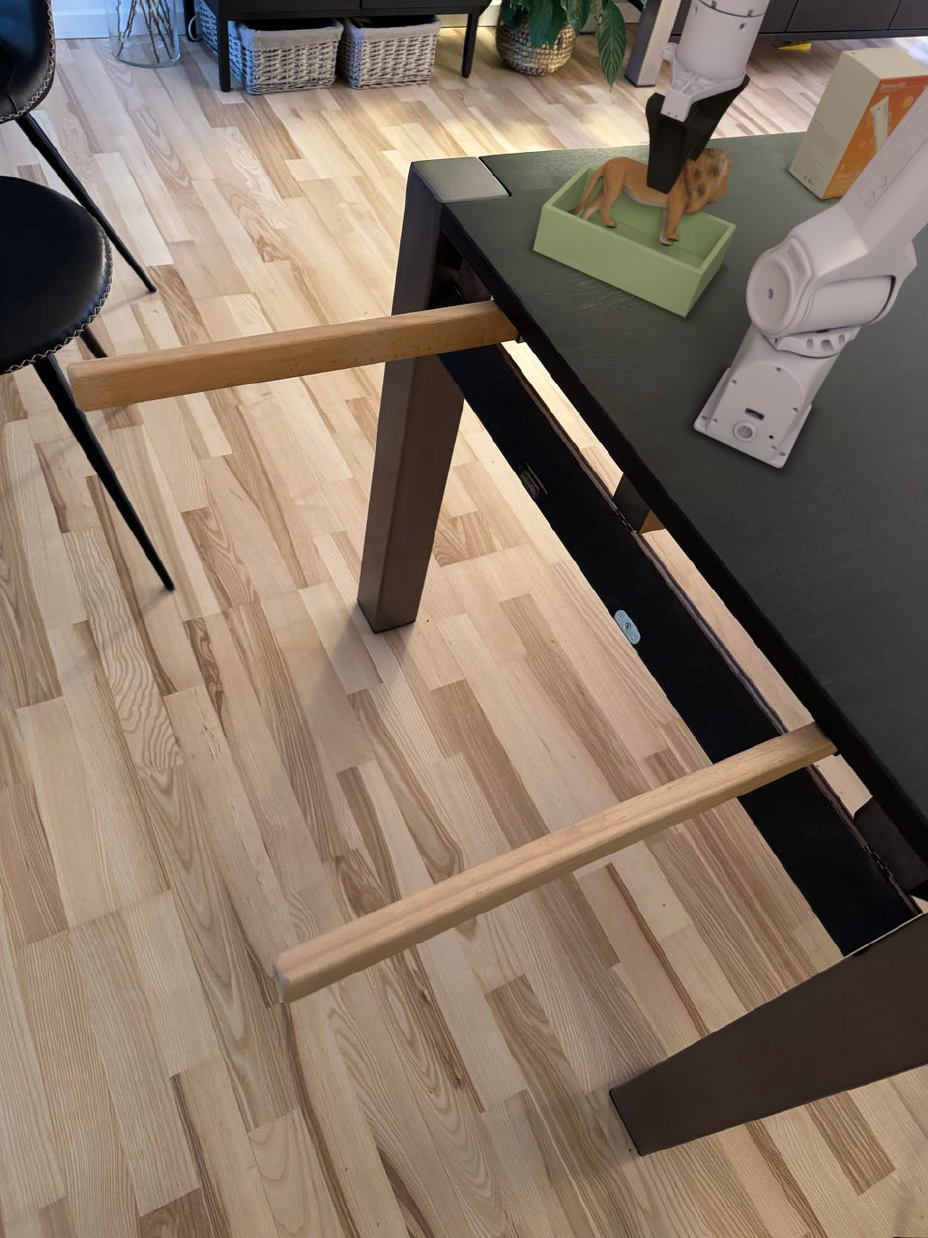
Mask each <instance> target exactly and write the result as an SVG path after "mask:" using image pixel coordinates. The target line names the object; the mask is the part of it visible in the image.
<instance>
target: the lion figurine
mask: <svg viewBox="0 0 928 1238" xmlns="http://www.w3.org/2000/svg"><path fill="white" fill-rule="evenodd" d="M732 164H733V160H731V159H730V158H729V155H728V154H727V153H726V152H725V150H723V149H719V148H716V147H715V148H714V147H708V148H707V147H705V149H704V150H703V152H702V153H701V155H700V156H699V158H698V159H697V160H696V161H695V160H692V159H690V158H688V160H687V162H686V164H685V166H684V168H683V170H682V172H681V174H680V176H679V178H678V180H677V181H676V183H675V185H674V186H673V188H672V189H671V190H670V192H669V193H668V194H664V193H661V192H659V191H657V190H654V189H652V188H649V187H647V169H648V163H643V162H641V161H638V160H635V159H632V158H630V157H628V156H618V157H617V156H616V157H613V158H610V159H608V160H607V161H605V162H604V163H603V164H602V165H601V166H600V167H598V168H599V169H598V170H597V171H596V173H595V174H594V176H593V177H592V179H591V181H590V183H589V185H588V187H587V189H586V191H585V193H584V195H583V197H582V199H581V201H580V203H579V204H578V206H577V207H576V208H574V209H571V210H569V211H566V212H567V213H570V214H572V215H574V216H575V215H576V214H578V212H579V211H580V210H581V209H582V207H583V206H584V205H585V203H586V201H587V200H588V198H589V196H590V194H591V192H592V191H593V189H594V187H595V186H596V184H597V182H598V181H599V179H600V178H603V184H602V187H601V190H600V192H599V193H598V194H597V196H596V197H595V198H594V199H593V200H592V201H591V202H589V203H588V204H587V205H586V206H585V209H584V211H583V214H582V216H581V219H584V220H586V221H588V222H589V218H590V216H591V215H593V214H594V213H596V212H598V211H599V212H600V215H601V218H602V221H603V224H604V226H605V227H607V228H617V223H616V221H613V220H611V219H610V209H611V207H612V205H613V203H614V202H615V201H616V200H617V199H618V198H619V197H620V196H621V195H622V194H623V193H625V194H626V195H627V196H628V197H629V198H630V199H631V200H633V201H634V202H636V203H637V204H639V205H641V206H644V207H651V208H662V212H663V223H662V228H661V231H660V233H659V242H660V244H662V245H664V246H672V245H673V241H674V242H678V241H680V236H679V235H677V234H676V228H677V225H678V223H679V221H680V219H681V217H682V214H684V215H694V214H697V213H698V212H699V211H702V209H703V208H704V207H706V206H710V205H713V204H715V203H717V202H718V201H720V200H721V199H722V197H723V196H724V195H725V193H726V191H727V190H728V186H729V181H730V175H731V168H732Z"/></svg>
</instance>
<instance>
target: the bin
mask: <svg viewBox="0 0 928 1238" xmlns="http://www.w3.org/2000/svg"><path fill="white" fill-rule="evenodd" d="M599 168H600V167H598V166H594V165H593V164H590V163H588V162H586V163H585V164H584V165H583V166H581V168H580V169H579V170H578V171H577V172H576V173H574V174H573V176H571V177H570V178H569V180H568V181H566V182H565V183H564V184H563V185H562V186H561V187H560V188H559V189H558V190H557V191H556V192H554V194H553V195H552V196H551V197H549V199H548V200H547V201H546V202H545V203H544V204H543V205H542V208H541V213H540V217H539V222H538V225H537V231H536V235H535V240H534V244H533V247H532V251H534V252H536V253H539V254H540V255H543V256H546V257H547V258H550V259H551V260H554V261H556V262H559V263H561V264H563V265H565V266H568V267H570V268H572V269H575V270H577V271H579V272H581V273H584V274H586V275H587V276H590V277H593V278H594V279H597V280H599V281H601V282H604V283H606V284H609V285H611V286H613V287H615V288H618V289H620V290H622V291H624V292H627V293H628V294H631V295H633V296H635V297H638V298H640V299H643V300H645V301H647V302H649V303H651V304H653V305H656V306H658V307H660V308H663V309H665V310H667V311H669V312H672V313H674V314H676V315H678V316H680V317H682V318H686V317H687V315H688V314H689V312H691V310H692V308H693V307H694V305H695V304H696V302H697V301H698V300H699V298H700V297H701V295H702V294H703V293H704V291H705V290H706V288H707V286H708V285H709V284H710V283H711V281H712V279H713V278H714V277H715V275H716V274H717V272H718V271H719V269H720V268H721V266H722V263H723V260H724V259H725V255H726V253H727V251H728V249H729V246H730V244H731V242H732V239H733V237H734V234H735V232H736V229H737V224H734V223H732V222H729V221H727V220H725V219H721V218H719V217H717V216H714V215H712V214H710V213H707V212H705V211H702V210H700V211H699V212H698V213H697V214H694V215H684V214H682V217H681V219H680V221H679V223H678V225H677V228H676V234H677V235H679V236H680V241H678V242H674V241H673V245H672V246H664V245H662V244H660V242H659V233H660V231H661V228H662V223H663V212H662V208H651V207H644V206H641V205H639V204H637V203H636V202H634V201H633V200H631V199H630V198H629V197H628V196H627V195H626V194H625V193H623V194H622V195H621V196H620V197H619V198H618V199H617V200H616V201H615V202H614V203H613V205H612V207H611V209H610V219H611V220H613V221H616V223H617V228H607V227H605V226H604V224H603V221H602V218H601V215H600V212H599V211H598V212H596V213H594V214H593V215H591V216H590V218H589V222H588V221H586V220H584V219H581V216H582V214H583V211H584V209H585V206H586V205H587V204H588V203H589V202H591V201H592V200H593V199H594V198H595V197H596V196H597V194H598V193H599V192H600V190H601V187H602V184H603V178H600V179H599V181H598V182H597V184H596V186H595V187H594V189H593V191H592V192H591V194H590V196H589V198H588V200H587V201H586V203H585V205H584V206H583V207H582V209H581V210H580V211H579V212H578V214H576V215H575V216H574V215H572V214H570V213H567V212H566V211H569V210H571V209H574V208H576V207H577V206H578V204H579V203H580V201H581V199H582V197H583V195H584V193H585V191H586V189H587V187H588V185H589V183H590V181H591V179H592V177H593V176H594V174H595V173H596V171H597V170H598V169H599Z"/></svg>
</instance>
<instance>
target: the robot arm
mask: <svg viewBox="0 0 928 1238" xmlns="http://www.w3.org/2000/svg"><path fill="white" fill-rule="evenodd" d="M770 1H771V0H691V3H690V7H689V10H688V13H687V16H686V19H685V23H684V26H683V29H682V32H681V36H680V39H679V41H678V43H676V42H668V43H666V44H665V45H664V46H663V47H662V49H661V52H660V58H661V59H662V60H665V61H667V62H669V63H670V79H669V87H668V88H667V91H666V94H665V95H664V94H662V93H659V92H657V91H655V92H653V94H651V95H650V97H648V98H647V100H646V104H645V109H644V114H645V119H646V122H647V127H648V138H649V139H648V143H649V144H648V145H649V147H648V148H649V149H648V160H647V164H648V169H647V187H649V188H652V189H654V190H657V191H659V192H661V193H664V194H668V193H669V192H670V190H671V189H672V188H673V186H674V185H675V183H676V181H677V180H678V178H679V176H680V174H681V172H682V170H683V168H684V166H685V164H686V162H687V160H688V158H690V159H692V160H695V161H696V160H697V159H698V158H699V156H700V155H701V153H702V152H703V150H704V149H705V148H707V146H708V143H709V142H710V140H711V138H712V136H713V134H714V133H715V131H716V129H717V127H718V125H719V124H720V122H721V120H722V119H723V117H724V116H725V114H726V113H727V111H728V109H729V108H730V106H731V105H732V104H733V102H734V101H735V100H736V99H737V97H738V96H739V95H740V94H741V93H742V92H744V91H745V89H746V88H747V87H748V86H749V84H750V81H751V77H750V75H748V74H747V70H746V66H747V63H748V61H749V58H750V55H751V52H752V50H753V47H754V44H755V41H756V38H757V36H758V33H759V31H760V29H761V25H762V22H763V20H764V17H765V14H766V12H767V9H768V6H769V3H770ZM927 224H928V86H927V87H926V88H925V90H924V91H923V92H922V94H921V95H920V96H919V98H918V99H917V100H916V101H915V103H914V104H913V105H912V107H911V108H910V109H909V111H908V112H907V113H906V115H905V116H904V117H903V118H902V120H901V121H900V122H899V124H898V125H897V126H896V128H895V129H894V130H893V132H892V133H891V134H890V136H889V137H888V138H887V139H886V141H885V142H884V143H883V145H882V146H881V147H880V149H879V150H878V151H877V153H876V154H875V155H874V156H873V158H872V159H871V160H870V162H869V163H868V164H867V166H866V167H865V168H864V170H863V171H862V172H861V173H860V175H859V176H858V177H857V179H856V180H855V181H854V183H853V184H852V185H851V187H850V188H849V189H848V190H847V192H846V193H845V194H844V196H841V198H840V200H839V201H838V202H837V203H835V204H833V205H832V206H831V207H828V208H827V209H825V210H823V211H822V212H818V213H817V214H815V215H814V216H812V217H810V218H808V219H806V220H805V221H803V222H801V223H799V224H797V225H795V226H794V227H793V228H791V230H790V231H789V233H788V234H787V235H786V237H784V239H783V240H782V241H781V242H780V243H779V244H777V245H776V246H774V247H772V248H771V247H770V248H769V249H767V250H765V251H764V252H762V253H761V254H760V256H759V257H758V258H757V259H756V261H755V262H754V264H753V266H752V267H751V271H750V273H749V276H748V280H747V283H746V290H745V302H746V308H747V313H748V317H749V319H750V320H751V323H750V325H749V327H748V328H747V329H748V330H747V331H746V334H745V336H744V337H743V339H742V342H741V344H740V346H739V348H738V350H737V353H736V355H735V357H734V359H733V361H732V363H731V365H730V367H728V368H726V369H725V372H724V373H723V375H722V377H721V378H720V380H719V381H718V383H717V385H716V387H714V390H713V391H712V393H711V394H710V396H709V398H708V399H707V401H706V403H705V405H704V406H703V408H702V409H701V411H700V413H699V415H698V417H697V418H696V419H695V421H694V423H693V428H694V430H695V431H697V432H699V433H701V434H703V435H706V436H708V437H709V438H712V439H715V440H716V441H718V442H721V443H723V444H725V445H727V446H729V447H731V448H733V449H735V450H738V451H740V452H742V453H744V454H745V455H748V456H751V457H753V458H755V459H757V460H759V461H761V462H763V463H766V464H768V465H770V466H772V467H774V468H777V469H781V468H783V467H784V465H785V463H786V461H787V459H788V457H789V456H790V453H791V450H792V449H793V447H794V444H795V442H796V441H797V438H798V436H799V434H800V433H801V430H802V428H803V427H804V424H805V421H806V419H807V417H808V415H809V413H810V412H811V410H812V402H813V400H814V398H815V397H816V395H817V393H818V392H819V390H820V388H821V386H822V385H823V383H824V381H825V380H826V379H827V376H828V374H829V373H830V371H831V370H832V368H833V367H834V365H835V363H836V361H837V360H838V358H839V356H840V355H841V353H842V351H843V349H844V348H845V345H846V344H847V343H848V342H850V341H853V340H855V338H856V337H857V335H858V334H859V332H860V330H861V328H862V327H865V326H867V327H868V326H870V325H874V324H876V323H878V322H879V321H881V320H882V319H884V318H885V317H886V316H887V314H888V313H889V312H890V311H891V309H892V308H893V306H894V304H895V301H896V299H897V296H898V294H899V291H900V289H901V287H902V285H903V283H904V282H905V280H906V279H907V277H908V276H909V275H910V274H911V273H912V272H913V271H914V270H915V268H916V267H917V266H918V262H917V261H918V260H917V256H916V251H915V246H914V243H913V241H912V240H913V239H914V238H915V237H916V236H917V235H918V234H919V233H920V231H921V230H922V229H923V228H924V227H925V226H926V225H927Z"/></svg>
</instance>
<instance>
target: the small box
mask: <svg viewBox="0 0 928 1238" xmlns="http://www.w3.org/2000/svg"><path fill="white" fill-rule="evenodd" d="M927 86H928V67H926V66H924V65H923V64H922V63H921V62H920V61H918V60H917V59H915V58H914V57H912V56H911V55H910V54H909V53H907V52H905V51H904V50H903V49H901V48H900V47H899V46H887V47H865V48H861V49H852V50H851V49H849V50H842V51H841V53H840V55H839V58H838V60H837V62H836V64H835V67H834V68H833V71H832V73H831V75H830V78H829V79H828V82H827V85H826V87H825V88H824V91H823V94H822V95H821V98H820V100H819V102H818V104H817V106H816V109H815V111H814V113H813V115H812V117H811V119H810V122H809V125H808V127H807V129H806V131H805V133H804V136H803V138H802V140H801V141H800V144H799V146H798V148H797V151H796V153H795V155H794V158H793V159H792V162H791V165H790V167H789V168H788V172H789V173H790V174H791V175H792V176H793V177H794V178H796V180H797V181H799V182H800V183H801V184H802V185H803V186H805V188H807V189H808V190H809V191H810V192H811V193H813V195H815V196H816V197H817V198H819V200H826V199H831V198H839V197H843V196H844V194H845V193H846V192H847V190H848V189H849V188H850V187H851V185H852V184H853V183H854V181H855V180H856V179H857V177H858V176H859V175H860V173H861V172H862V171H863V170H864V168H865V167H866V166H867V164H868V163H869V162H870V160H871V159H872V158H873V156H874V155H875V154H876V153H877V151H878V150H879V149H880V147H881V146H882V145H883V143H884V142H885V141H886V139H887V138H888V137H889V136H890V134H891V133H892V132H893V130H894V129H895V128H896V126H897V125H898V124H899V122H900V121H901V120H902V118H903V117H904V116H905V115H906V113H907V112H908V111H909V109H910V108H911V107H912V105H913V104H914V103H915V101H916V100H917V99H918V98H919V96H920V95H921V94H922V92H923V91H924V90H925V88H926V87H927Z"/></svg>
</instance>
